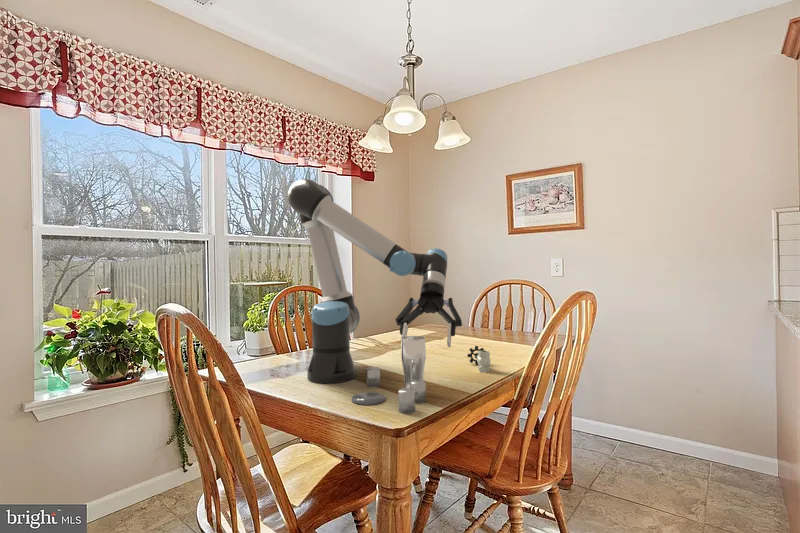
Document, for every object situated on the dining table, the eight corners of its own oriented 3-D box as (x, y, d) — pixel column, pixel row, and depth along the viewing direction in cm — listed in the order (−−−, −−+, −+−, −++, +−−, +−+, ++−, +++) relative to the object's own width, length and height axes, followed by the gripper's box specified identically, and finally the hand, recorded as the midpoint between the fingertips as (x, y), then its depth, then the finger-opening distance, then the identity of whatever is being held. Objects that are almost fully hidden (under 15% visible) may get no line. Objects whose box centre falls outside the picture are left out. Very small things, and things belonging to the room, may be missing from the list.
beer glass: (418, 396, 119) (417, 340, 118) (396, 392, 122) (396, 338, 122) (430, 389, 125) (430, 336, 124) (409, 386, 128) (408, 334, 128)
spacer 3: (408, 402, 114) (408, 383, 113) (412, 398, 117) (412, 379, 117) (423, 403, 112) (423, 384, 112) (427, 399, 116) (426, 380, 116)
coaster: (346, 403, 113) (346, 401, 113) (358, 393, 122) (358, 391, 122) (379, 406, 111) (379, 403, 111) (389, 395, 120) (389, 393, 120)
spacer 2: (396, 412, 106) (396, 392, 106) (400, 407, 110) (400, 387, 110) (412, 414, 105) (412, 393, 105) (416, 408, 109) (416, 388, 109)
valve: (495, 372, 143) (485, 364, 155) (495, 352, 142) (485, 345, 154) (475, 373, 142) (467, 364, 154) (475, 353, 142) (467, 345, 154)
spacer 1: (364, 386, 128) (364, 369, 128) (369, 383, 132) (369, 366, 132) (377, 387, 127) (377, 370, 127) (381, 383, 131) (381, 367, 131)
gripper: (472, 295, 143) (469, 352, 129) (397, 295, 149) (387, 349, 135) (470, 280, 137) (467, 337, 123) (393, 281, 143) (381, 335, 129)
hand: (425, 344), depth 129 cm, fingers open, 13 cm apart
